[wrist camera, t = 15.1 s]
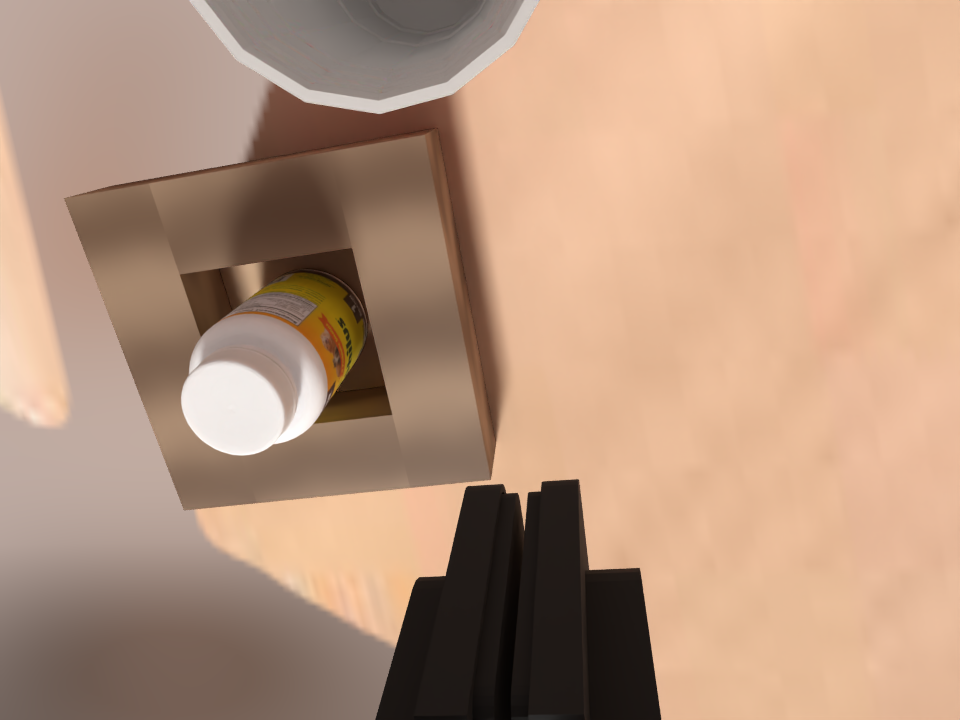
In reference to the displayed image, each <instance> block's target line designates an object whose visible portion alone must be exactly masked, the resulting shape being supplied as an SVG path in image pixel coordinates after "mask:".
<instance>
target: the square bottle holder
mask: <svg viewBox="0 0 960 720" xmlns="http://www.w3.org/2000/svg"><path fill="white" fill-rule="evenodd" d="M64 199H65V202H66V205H67V207H68V210H69V212H70V215H71V218H72V220H73V223H74V225H75V228H76V231H77V233H78V236H79V238H80V241H81V244H82V246H83V249H84V251H85V254H86V257H87V259H88V262H89V264H90V267H91V270H92V272H93V275H94V277H95V280H96V283H97V285H98V288H99V290H100V293H101V296H102V298H103V301H104V303H105V306H106V309H107V311H108V314H109V316H110V319H111V322H112V324H113V327H114V329H115V332H116V335H117V337H118V340H119V342H120V345H121V348H122V350H123V353H124V355H125V358H126V361H127V363H128V366H129V368H130V371H131V373H132V376H133V379H134V381H135V384H136V386H137V389H138V392H139V394H140V397H141V400H142V402H143V405H144V407H145V410H146V412H147V415H148V418H149V420H150V423H151V426H152V428H153V431H154V433H155V436H156V439H157V441H158V444H159V446H160V449H161V452H162V454H163V457H164V459H165V462H166V465H167V467H168V470H169V472H170V475H171V477H172V480H173V483H174V485H175V488H176V490H177V493H178V496H179V498H180V501H181V504H182V506H183V508H184V510H192V509H202V508H212V507H222V506H233V505H243V504H253V503H263V502H273V501H283V500H293V499H303V498H313V497H323V496H333V495H343V494H353V493H363V492H373V491H383V490H393V489H403V488H413V487H423V486H433V485H443V484H453V483H463V482H473V481H484V480H491V475H492V468H493V461H494V454H495V447H496V441H495V436H494V430H493V425H492V420H491V414H490V409H489V404H488V398H487V393H486V387H485V382H484V377H483V371H482V366H481V360H480V355H479V350H478V344H477V339H476V333H475V328H474V323H473V317H472V312H471V306H470V301H469V296H468V290H467V285H466V279H465V274H464V269H463V263H462V258H461V252H460V247H459V242H458V236H457V231H456V225H455V220H454V215H453V209H452V204H451V198H450V193H449V188H448V182H447V177H446V171H445V166H444V161H443V155H442V150H441V144H440V139H439V134H438V128H435V129H430V130H424V131H418V132H413V133H407V134H402V135H396V136H390V137H385V138H379V139H373V140H368V141H362V142H356V143H351V144H345V145H340V146H334V147H328V148H323V149H317V150H311V151H306V152H300V153H294V154H289V155H283V156H278V157H272V158H266V159H261V160H255V161H249V162H244V163H238V164H233V165H227V166H222V167H217V168H210V169H204V170H199V171H193V172H187V173H182V174H176V175H170V176H165V177H160V178H154V179H148V180H143V181H137V182H131V183H126V184H120V185H114V186H109V187H106V188H102V189H98V190H94V191H91V192H87V193H83V194H79V195H75V196H72V197H68V198H64ZM349 248H352V250H353V254H354V258H355V262H356V266H357V271H358V275H359V279H360V283H361V287H362V291H363V295H364V299H365V304H366V308H367V312H368V316H369V320H370V324H371V328H372V332H373V337H374V341H375V345H376V349H377V353H378V357H379V361H380V365H381V370H382V374H383V378H384V382H385V386H386V387H378V388H370V389H362V390H354V391H346V392H338V393H334V394H333V396H332V397H331V399H330V401H329V402H328V404H327V405H326V407H325V408H324V410H323V411H322V413H321V414H320V416H319V417H318V418H317V420H316V421H315V422H314V424H313V425H312V426H311V427H310V428H309V429H308V430H307V431H305V432H304V433H303V434H301V435H299V436H298V437H296V438H294V439H291V440H289V441H286V442H282V443H278V444H273V445H272V446H270V447H269V448H267V449H266V450H264V451H262V452H259V453H256V454H252V455H242V456H241V455H232V454H228V453H224V452H221V451H219V450H216V449H214V448H212V447H211V446H209V445H208V444H206V443H205V442H203V441H202V440H201V439H200V438H199V437H198V436H197V435H196V434H195V433H194V432H193V430H192V429H191V428H190V426H189V425H188V423H187V421H186V419H185V416H184V414H183V410H182V405H181V394H182V389H183V385H184V383H185V380H186V379H187V377H188V376H189V366H190V360H191V355H192V353H193V350H194V348H195V346H196V344H197V342H198V341H199V339H200V338H201V337H202V335H203V334H204V333H205V332H206V331H207V330H208V329H210V328H211V327H212V326H213V325H215V324H216V323H217V322H218V321H220V320H221V319H222V318H224V317H225V316H226V315H228V314H229V313H230V312H232V309H231V306H230V303H229V300H228V297H227V294H226V290H225V287H224V284H223V281H222V278H221V275H220V271H219V268H225V267H232V266H238V265H245V264H251V263H258V262H264V261H271V260H277V259H284V258H290V257H297V256H303V255H310V254H316V253H323V252H329V251H336V250H342V249H349Z"/></svg>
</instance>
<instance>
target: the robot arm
mask: <svg viewBox="0 0 960 720" xmlns="http://www.w3.org/2000/svg"><path fill="white" fill-rule="evenodd" d="M376 720H661V714H660V707H659V700H658V693H657V686H656V679H655V671H654V664H653V657H652V650H651V643H650V636H649V629H648V622H647V614H646V607H645V600H644V593H643V586H642V579H641V572H640V568H630V569H606V570H589V565H588V556H587V547H586V538H585V529H584V520H583V511H582V502H581V493H580V485H579V479H576V480H560V481H544V482H542V485H541V492H529V493H528V500H527V511H526V523H525V531H524V525H523V518H522V512H521V505H520V499H519V495H518V493H509V494H506V490H505V487H504V485H503V484H497V485H481V486H468V487H466V490H465V493H464V498H463V502H462V507H461V511H460V515H459V520H458V524H457V528H456V533H455V537H454V542H453V546H452V550H451V555H450V559H449V563H448V568H447V572H446V576H440V577H419V578H418V579H417V580H416V582H415V584H414V587H413V589H412V593H411V596H410V600H409V603H408V607H407V610H406V614H405V617H404V621H403V624H402V628H401V631H400V635H399V639H398V642H397V646H396V649H395V653H394V656H393V660H392V664H391V667H390V670H389V674H388V677H387V681H386V684H385V688H384V691H383V695H382V698H381V702H380V705H379V709H378V712H377V716H376Z"/></svg>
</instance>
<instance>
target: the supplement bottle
mask: <svg viewBox="0 0 960 720" xmlns="http://www.w3.org/2000/svg"><path fill="white" fill-rule="evenodd" d="M366 337H367V320H366V315H365V311H364V309H363V306H362V304H361V302H360V300H359V299H358V297H357V296H356V294H355V293H354V292H353V290H352V289H351V288H350V287H349V286H348V285H346V284H345V283H344V282H343V281H341V280H340V279H338V278H337V277H335V276H333V275H331V274H328V273H325V272H322V271H318V270H310V269H303V270H295V271H291V272H288V273H286V274H284V275H282V276H280V277H278V278H276V279H275V280H273V281H272V282H271V283H269V284H268V285H267V286H265V287H264V288H263V289H261V290H260V291H259V292H257V293H256V294H254V295H253V296H252V297H250V298H249V299H248V300H246V301H245V302H244V303H242V304H241V305H240V306H238V307H237V308H236V309H234V310H233V311H232V312H230V313H229V314H228V315H226V316H225V317H224V318H222V319H221V320H220V321H218V322H217V323H216V324H215V325H213V326H212V327H211V328H210V329H208V330H207V331H206V332H205V333H204V334H203V335H202V337H201V338H200V339H199V341H198V342H197V344H196V346H195V348H194V350H193V353H192V355H191V360H190V366H189V376H188V377H187V379H186V380H185V383H184V385H183V389H182V394H181V405H182V410H183V414H184V416H185V419H186V421H187V423H188V425H189V426H190V428H191V429H192V430H193V432H194V433H195V434H196V435H197V436H198V437H199V438H200V439H201V440H202V441H203V442H205V443H206V444H208V445H209V446H211V447H212V448H214V449H216V450H219V451H221V452H224V453H228V454H232V455H241V456H242V455H252V454H256V453H259V452H262V451H264V450H266V449H267V448H269V447H270V446H272V445H273V444H278V443H282V442H286V441H289V440H291V439H294V438H296V437H298V436H299V435H301V434H303V433H304V432H305V431H307V430H308V429H309V428H310V427H311V426H312V425H313V424H314V422H315V421H316V420H317V418H318V417H319V416H320V414H321V413H322V411H323V410H324V408H325V407H326V405H327V404H328V402H329V401H330V399H331V397H332V396H333V394H334V393H335V391H336V390H337V389H338V387H339V386H340V384H341V383H342V381H343V380H344V378H345V377H346V375H347V374H348V372H349V371H350V369H351V368H352V366H353V365H354V363H355V362H356V360H357V359H358V357H359V355H360V353H361V352H362V350H363V347H364V345H365V341H366Z"/></svg>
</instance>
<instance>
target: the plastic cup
mask: <svg viewBox="0 0 960 720" xmlns="http://www.w3.org/2000/svg"><path fill="white" fill-rule="evenodd" d="M189 1H190V2H191V4H192V5H193V6H194V7H195V9H196V10H197V11H198V12H199V13H200V15H201V16H202V18H203V19H204V20H205V21H206V23H207V24H208V25H209V26H210V28H211V29H212V30H213V31H214V33H215V34H216V35H217V36H218V38H219V39H220V40H221V42H222V43H223V44H224V45H225V47H226V48H227V49H228V50H229V52H230V53H231V54H232V56H233V57H234V58H235V59H236V60H237V61H238V62H240V63H242V64H243V65H245V66H247V67H248V68H250V69H252V70H253V71H255V72H256V73H258V74H260V75H261V76H263V77H265V78H266V79H268V80H269V81H271V82H273V83H274V84H276V85H278V86H279V87H281V88H283V89H284V90H286V91H287V92H289V93H291V94H292V95H294V96H296V97H297V98H299V99H301V100H302V101H304V102H307V103H313V104H319V105H326V106H332V107H338V108H345V109H351V110H357V111H364V112H370V113H376V114H382V113H386V112H389V111H393V110H397V109H401V108H404V107H408V106H412V105H416V104H419V103H423V102H427V101H431V100H434V99H438V98H442V97H445V96H449V95H453V94H454V93H455V92H456V91H458V90H459V89H460V88H461V87H463V86H464V85H465V84H466V83H468V82H469V81H470V80H471V79H473V78H474V77H475V76H476V75H478V74H479V73H480V72H481V71H483V70H484V69H485V68H486V67H488V66H489V65H490V64H491V63H493V62H494V61H495V60H496V59H498V58H499V57H500V56H501V55H503V54H504V53H505V52H506V51H508V50H509V49H510V48H511V47H513V46H514V45H515V43H516V41H517V39H518V38H519V36H520V34H521V32H522V31H523V29H524V27H525V25H526V23H527V22H528V20H529V18H530V16H531V15H532V13H533V11H534V9H535V8H536V6H537V4H538V2H539V0H189Z"/></svg>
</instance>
